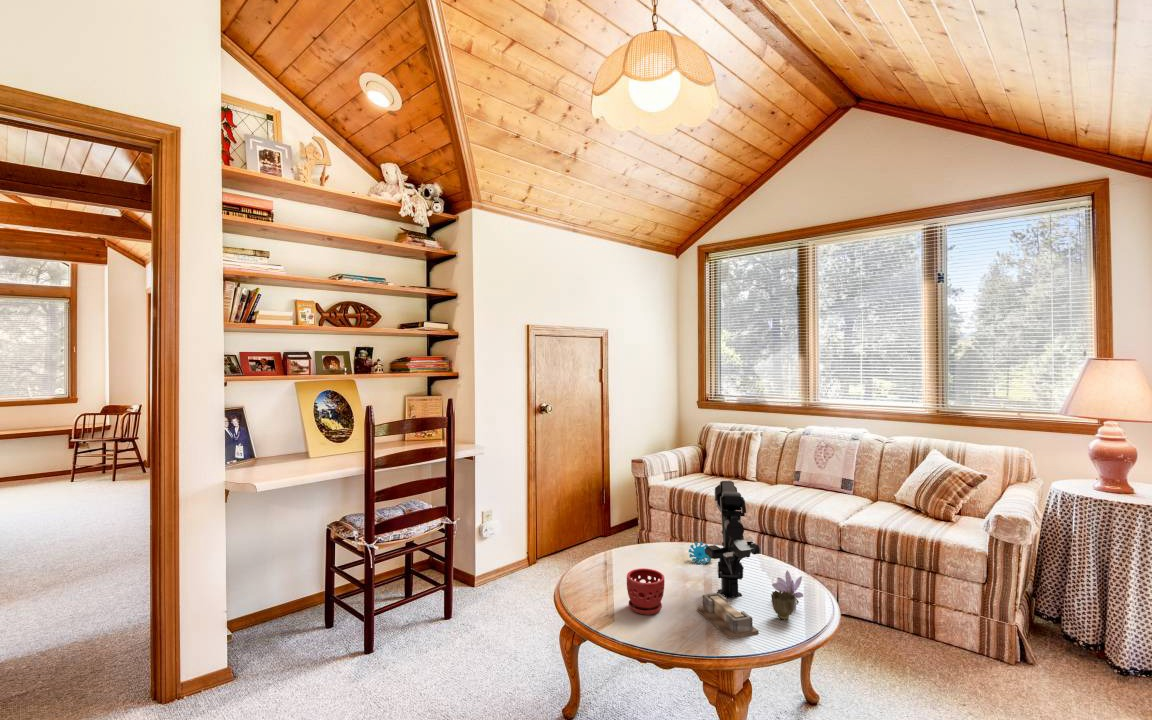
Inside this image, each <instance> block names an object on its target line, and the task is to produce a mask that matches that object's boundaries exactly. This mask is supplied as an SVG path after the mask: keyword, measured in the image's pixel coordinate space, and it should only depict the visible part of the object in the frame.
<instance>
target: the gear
mask: <svg viewBox="0 0 1152 720" xmlns="http://www.w3.org/2000/svg"><path fill="white" fill-rule="evenodd" d="M698 543H699V544H698ZM703 545H704V546H703ZM694 546H695V547H694ZM706 546H709V544H707V543H705V544H704V542H702V541H700V542H697V541H696V542H694V544H691V545H690V548H689V549H688V553H689V558H692V559H691V560H692V561H693V562H694V563H695V562H696V561H697V560H698V561H697V564H698V565H701V563H702V564H703V565H706V564H707V562H710V561H712V558H711V557H709V556H708V555H706V554H705V548H706ZM706 559H707V560H706Z"/></svg>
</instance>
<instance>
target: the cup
mask: <svg viewBox="0 0 1152 720" xmlns="http://www.w3.org/2000/svg"><path fill="white" fill-rule="evenodd" d="M770 597H771V601H772V603H771V605H772V609H773V611H774V613H776V614H777V619H779V620H780V621H788V620H789V619H790V615H792V614H793V609H794V601H795V596H794V594H793V595H792V594H791V593H790V594H789V593H788V592H785V591H784V592H783V593H782V592H781V591H777V590H774V591H772V592H771V593H770Z"/></svg>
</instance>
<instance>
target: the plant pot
mask: <svg viewBox="0 0 1152 720" xmlns="http://www.w3.org/2000/svg"><path fill="white" fill-rule="evenodd" d="M649 577H650V579H649ZM642 580H643V581H645V582H641V581H642ZM626 590H627V595H628V598H629V600H628V606H629V608H630V609H631V611H633V612H634V613H637V614H641V615H654V614H657V613H658V612H659V611H660V610H662V608H663V607H662V606H663V603H662V600H663V597H664V592H665V576H664V573H662V572H660V571H658V570H655V569H652V568H651V569H650V568H644V567H643V568H636V569H632V570H630V571H628V572H627V574H626Z"/></svg>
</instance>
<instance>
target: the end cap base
mask: <svg viewBox="0 0 1152 720" xmlns="http://www.w3.org/2000/svg"><path fill="white" fill-rule="evenodd" d="M712 596H719V597H720V598H721V599H723V600H724V601H725V602H727V603H728V600H727V597H725V596H724V595H722V594H721V593H720V592H716V593H708V594H707V593H706V594H703V595H702V605H700V606H697V611H698V612H699V613H700V614H702V615H703V616H704V617H705V618H707V619H708V620H709V621H710V622H711V623H712V624H713V625H714V626H716V627H717V628H718V629H719V630H720V631H721V632H723V633H724V635H726V636H727V637H729V639H735V638H742V637H747V636H753V635H759V634H760V633H759V630H758V629H757V628H756V627H754V626H753V617H752V616H751V615H750V614H748V613H747V612H745V611H744V610H743V611H740V613H741V614H742V615H744V618H738V619H735V618H734V617H733V616H731V615H730V614H729V613H727V614H726V621H725V620H723V619H722V618H721V617H720V616H719V615H717V614H716V613H715V612H714V611H713V601H712V600H711V599H710V597H712Z"/></svg>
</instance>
